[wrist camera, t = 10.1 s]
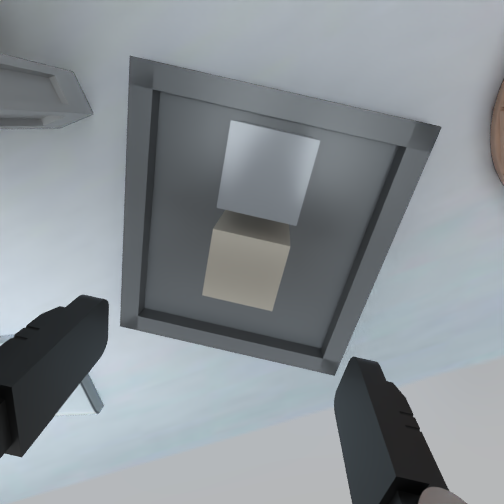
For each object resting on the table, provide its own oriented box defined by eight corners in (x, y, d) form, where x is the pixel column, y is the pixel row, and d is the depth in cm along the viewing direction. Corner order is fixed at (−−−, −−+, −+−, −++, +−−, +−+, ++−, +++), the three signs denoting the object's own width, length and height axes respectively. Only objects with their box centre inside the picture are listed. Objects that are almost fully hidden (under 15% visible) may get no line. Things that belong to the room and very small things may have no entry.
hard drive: (57, 338, 22) (-80, 351, 24) (97, 416, 25) (-27, 423, 27) (71, 324, 24) (-59, 338, 26) (108, 400, 27) (-11, 407, 29)
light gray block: (244, 121, 16) (230, 120, 12) (310, 136, 16) (320, 140, 12) (232, 187, 17) (216, 207, 13) (292, 201, 17) (296, 226, 13)
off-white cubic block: (229, 204, 18) (212, 228, 14) (288, 218, 18) (290, 246, 14) (219, 258, 19) (202, 295, 15) (274, 270, 19) (272, 311, 15)
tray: (142, 61, 16) (129, 55, 14) (428, 126, 16) (441, 126, 14) (129, 314, 22) (120, 326, 21) (331, 360, 22) (334, 375, 21)
